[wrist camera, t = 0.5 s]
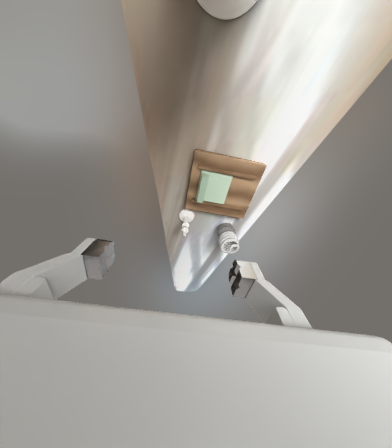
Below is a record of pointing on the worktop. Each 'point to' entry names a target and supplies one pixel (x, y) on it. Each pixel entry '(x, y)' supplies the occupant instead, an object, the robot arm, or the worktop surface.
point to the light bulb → (227, 238)
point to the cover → (213, 187)
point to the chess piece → (186, 219)
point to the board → (239, 188)
